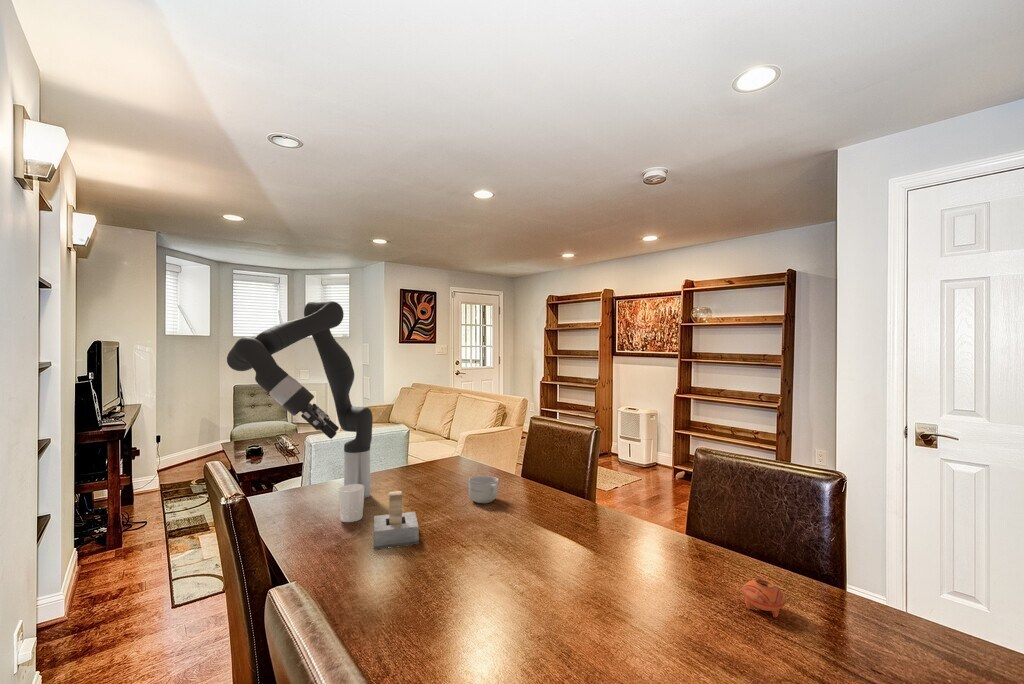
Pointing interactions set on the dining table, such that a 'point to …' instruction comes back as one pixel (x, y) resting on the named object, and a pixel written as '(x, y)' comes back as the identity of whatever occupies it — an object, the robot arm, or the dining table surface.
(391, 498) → the square wooden peg
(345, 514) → the white cup
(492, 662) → the dining table surface
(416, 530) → the grey square socket block
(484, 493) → the teacup
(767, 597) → the footed terracotta jar
